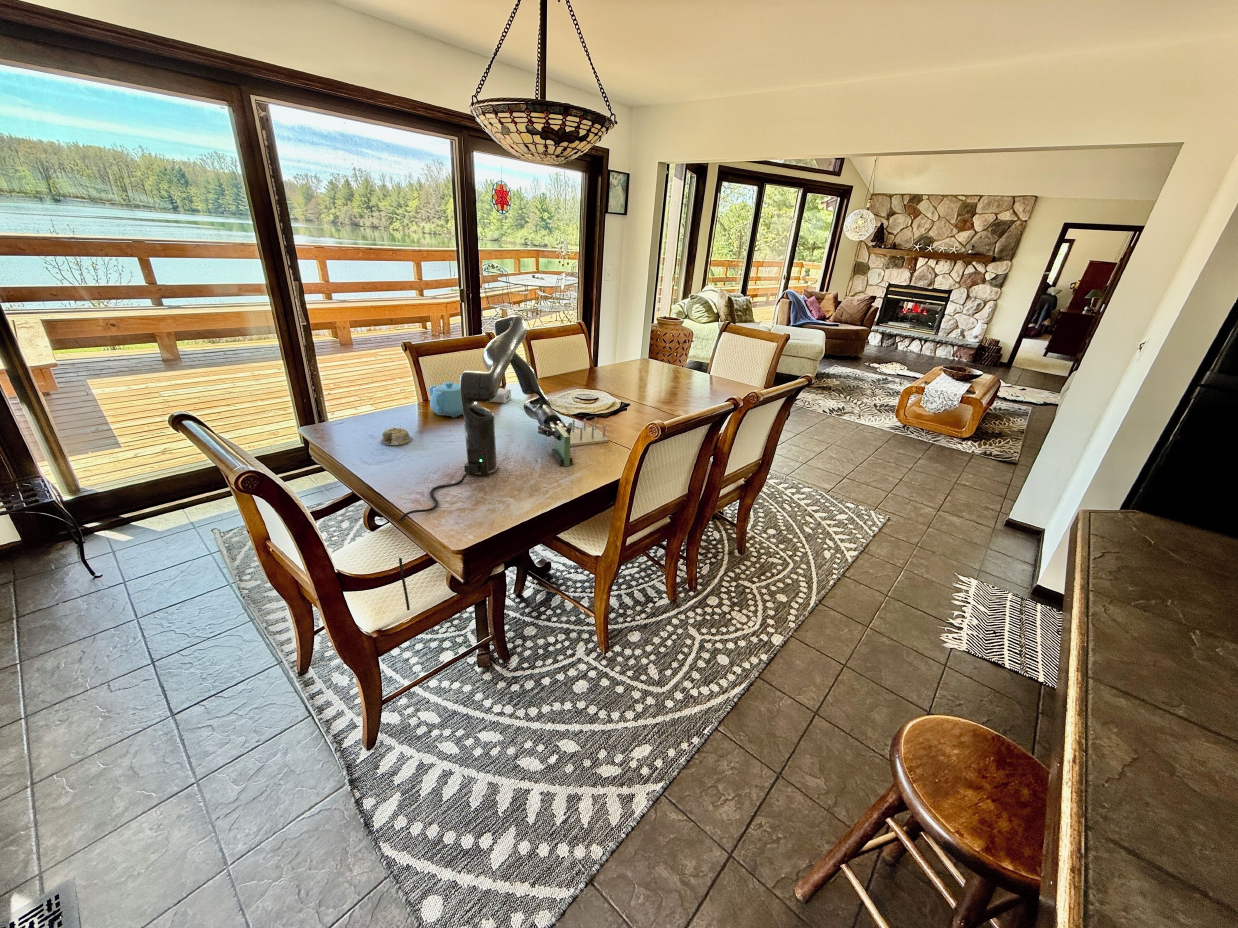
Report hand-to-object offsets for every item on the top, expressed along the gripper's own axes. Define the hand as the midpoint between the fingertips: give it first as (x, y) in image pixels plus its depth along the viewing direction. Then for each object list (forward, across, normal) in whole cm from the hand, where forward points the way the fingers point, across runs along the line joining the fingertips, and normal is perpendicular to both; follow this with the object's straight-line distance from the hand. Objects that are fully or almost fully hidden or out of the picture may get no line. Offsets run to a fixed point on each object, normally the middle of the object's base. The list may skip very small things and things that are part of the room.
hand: (563, 437), depth 167 cm
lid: (-1, 0, +9) cm, 9 cm away
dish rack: (-18, +14, +9) cm, 25 cm away
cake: (-34, -53, +9) cm, 64 cm away
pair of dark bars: (-1, 0, +9) cm, 9 cm away
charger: (-73, -11, +9) cm, 75 cm away
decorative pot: (-59, -31, +9) cm, 67 cm away
